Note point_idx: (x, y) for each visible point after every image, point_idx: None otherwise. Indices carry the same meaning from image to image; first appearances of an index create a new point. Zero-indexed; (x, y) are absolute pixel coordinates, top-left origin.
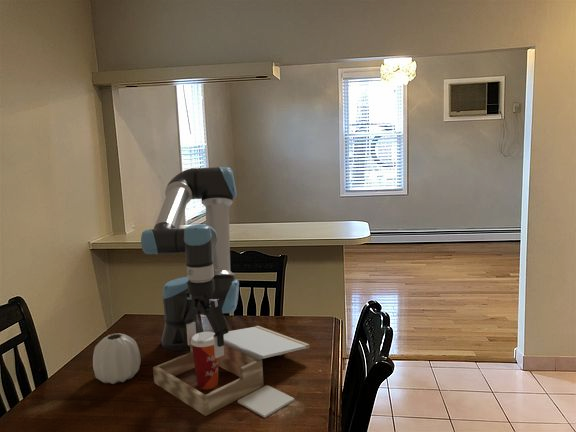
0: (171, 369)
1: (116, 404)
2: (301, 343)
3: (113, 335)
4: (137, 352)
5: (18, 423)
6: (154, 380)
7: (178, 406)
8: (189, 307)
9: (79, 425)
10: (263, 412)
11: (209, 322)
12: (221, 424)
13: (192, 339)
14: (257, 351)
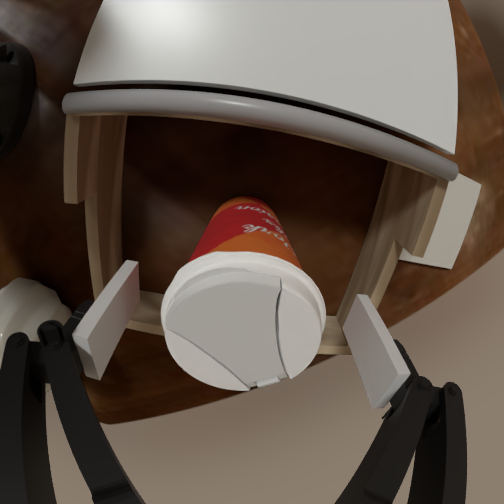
0: (112, 265)
1: (146, 371)
2: None
3: None
4: (26, 314)
5: (107, 420)
6: None
7: None
8: (34, 444)
9: (165, 411)
10: (447, 262)
11: (358, 469)
12: (384, 323)
13: (212, 385)
14: (414, 115)
